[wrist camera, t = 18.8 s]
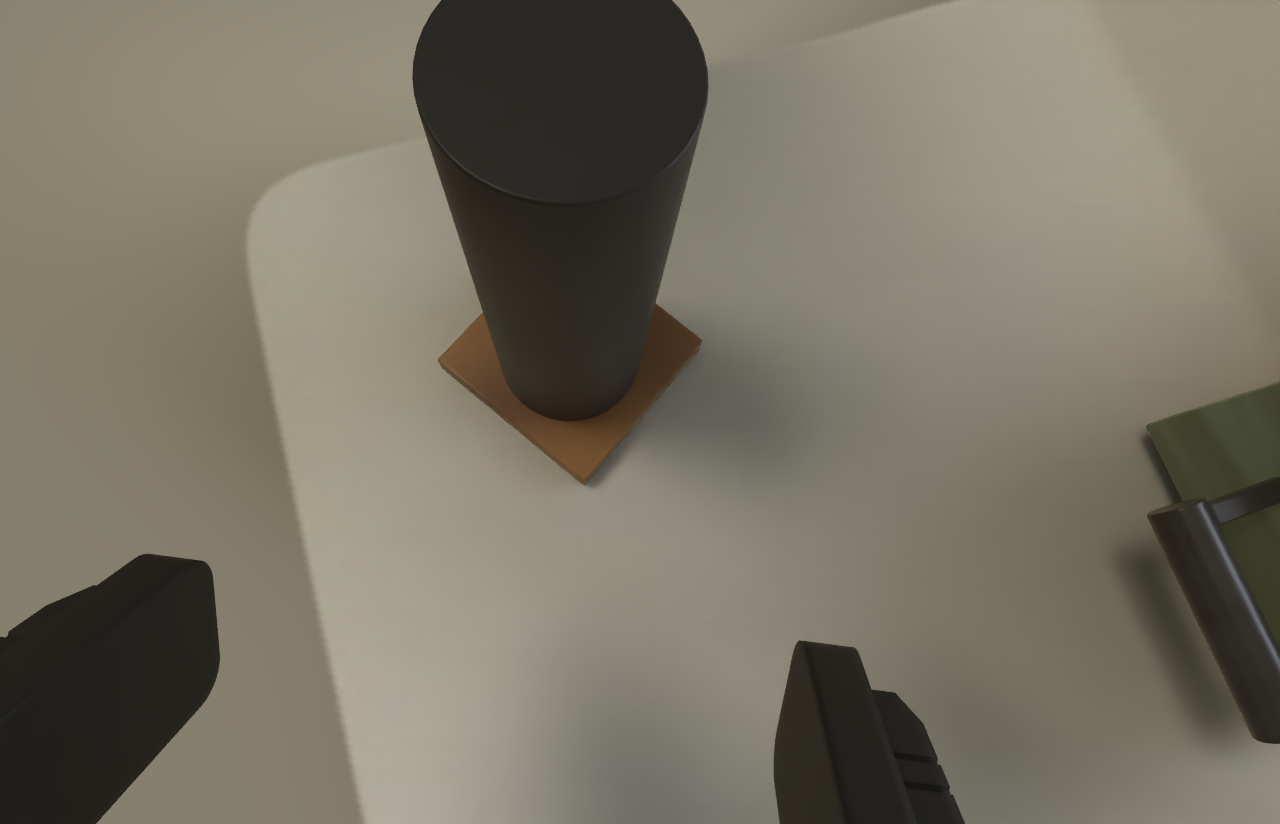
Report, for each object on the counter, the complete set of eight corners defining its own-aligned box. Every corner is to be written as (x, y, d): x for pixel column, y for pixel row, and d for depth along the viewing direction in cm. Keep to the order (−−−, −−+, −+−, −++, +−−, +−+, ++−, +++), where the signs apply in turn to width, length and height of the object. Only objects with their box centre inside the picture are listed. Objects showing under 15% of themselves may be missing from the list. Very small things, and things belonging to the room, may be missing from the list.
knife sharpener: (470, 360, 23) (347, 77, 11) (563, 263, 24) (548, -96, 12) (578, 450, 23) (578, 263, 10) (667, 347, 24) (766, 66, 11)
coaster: (441, 367, 24) (436, 359, 23) (562, 240, 25) (562, 228, 25) (583, 485, 23) (584, 482, 23) (699, 348, 25) (703, 340, 24)
